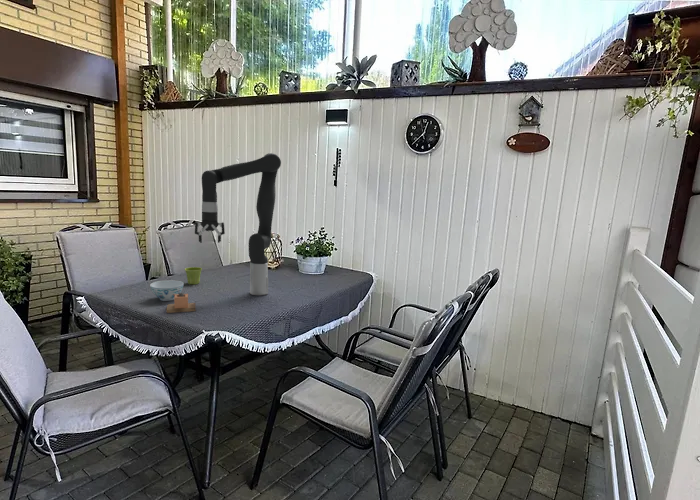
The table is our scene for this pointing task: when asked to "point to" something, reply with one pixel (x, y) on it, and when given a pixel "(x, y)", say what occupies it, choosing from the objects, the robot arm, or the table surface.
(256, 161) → the robot arm
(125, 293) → the table surface
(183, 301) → the orange hollow square block
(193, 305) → the shaft block
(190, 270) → the plant pot
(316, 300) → the table surface
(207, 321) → the table surface
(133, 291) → the table surface
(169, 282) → the chinaware
